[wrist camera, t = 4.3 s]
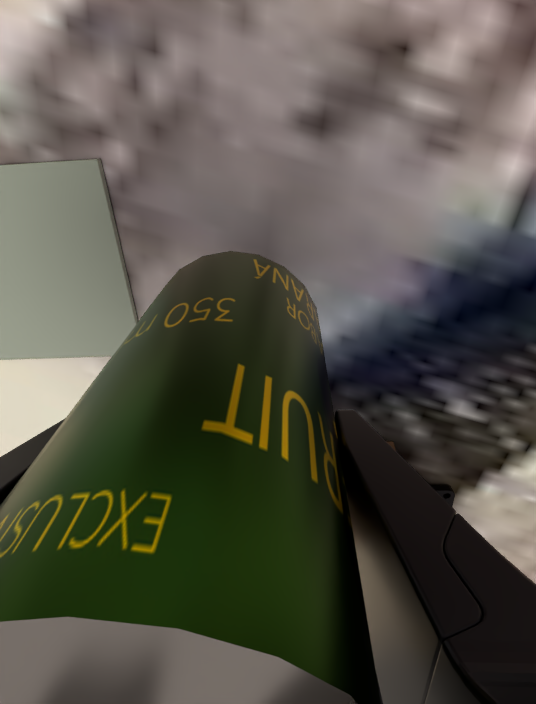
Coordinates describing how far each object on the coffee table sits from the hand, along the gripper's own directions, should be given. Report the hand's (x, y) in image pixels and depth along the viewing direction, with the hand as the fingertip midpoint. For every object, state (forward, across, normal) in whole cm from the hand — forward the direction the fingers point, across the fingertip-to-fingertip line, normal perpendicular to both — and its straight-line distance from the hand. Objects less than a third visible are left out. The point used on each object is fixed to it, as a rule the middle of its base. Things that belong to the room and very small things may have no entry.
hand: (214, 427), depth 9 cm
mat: (+13, +12, 0) cm, 17 cm away
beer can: (+6, 0, 0) cm, 6 cm away
